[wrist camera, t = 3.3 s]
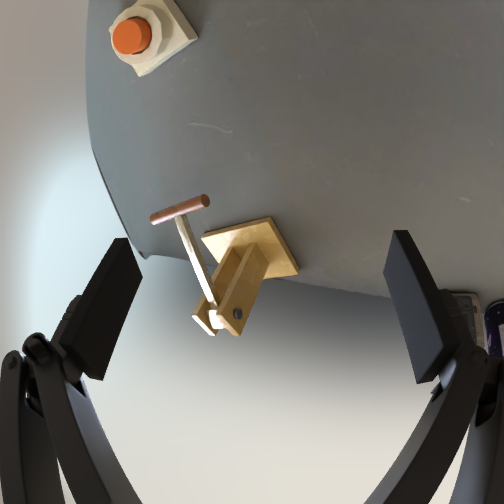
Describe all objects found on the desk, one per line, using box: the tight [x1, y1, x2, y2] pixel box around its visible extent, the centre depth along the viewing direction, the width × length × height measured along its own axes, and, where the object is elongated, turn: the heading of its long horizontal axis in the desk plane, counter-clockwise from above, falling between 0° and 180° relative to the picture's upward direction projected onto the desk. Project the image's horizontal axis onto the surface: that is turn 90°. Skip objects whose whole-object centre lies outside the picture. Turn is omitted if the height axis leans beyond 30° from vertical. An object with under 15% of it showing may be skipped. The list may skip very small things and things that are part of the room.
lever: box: [150, 194, 227, 329], centre depth 36 cm, size 16×9×2 cm, turn 30°
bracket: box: [191, 217, 299, 336], centre depth 41 cm, size 10×12×14 cm
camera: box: [452, 294, 485, 349], centre depth 36 cm, size 11×6×10 cm, turn 105°
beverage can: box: [484, 301, 504, 358], centre depth 32 cm, size 6×6×12 cm
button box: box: [108, 0, 198, 77], centre depth 25 cm, size 8×8×4 cm
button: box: [113, 18, 152, 55], centre depth 23 cm, size 4×4×2 cm
